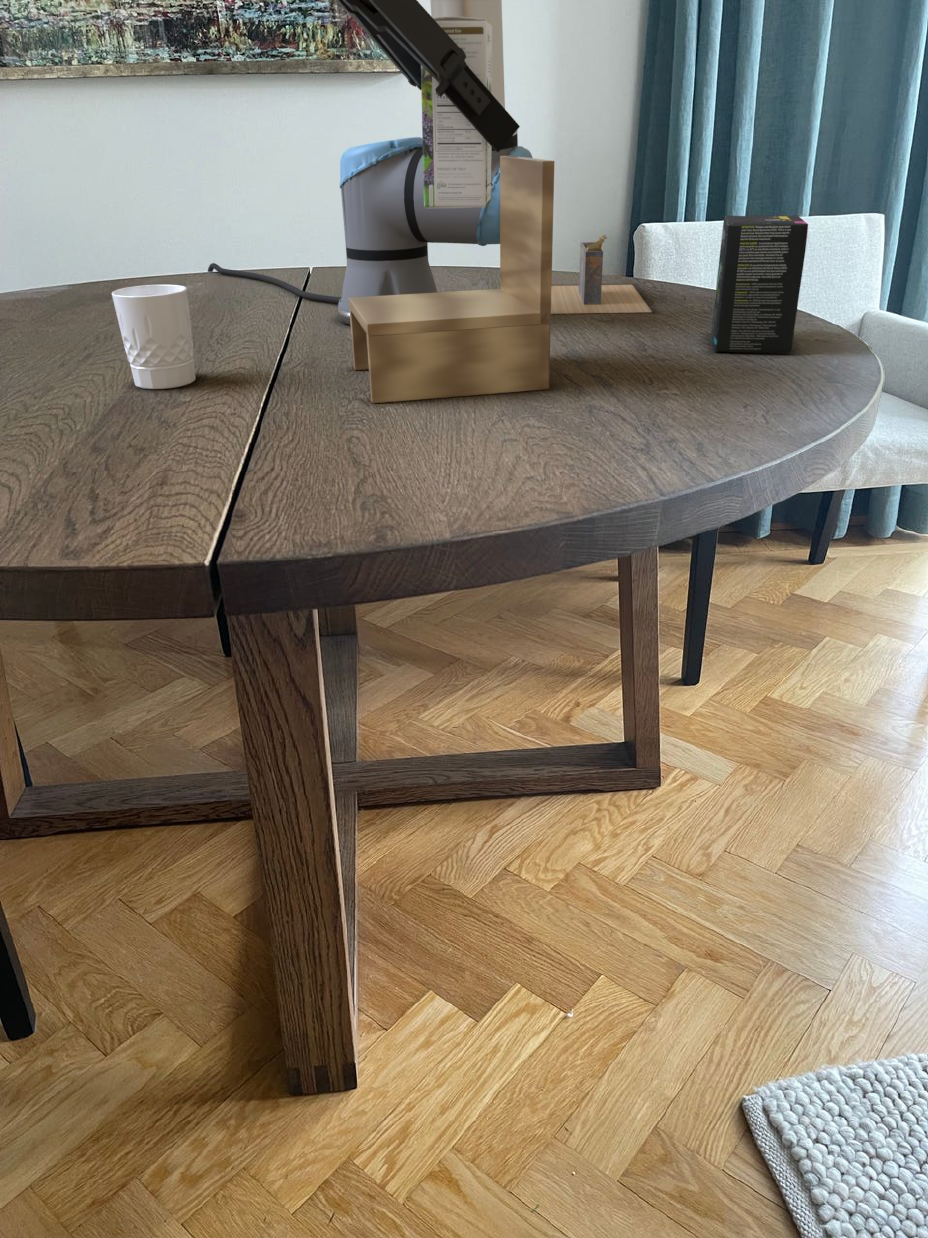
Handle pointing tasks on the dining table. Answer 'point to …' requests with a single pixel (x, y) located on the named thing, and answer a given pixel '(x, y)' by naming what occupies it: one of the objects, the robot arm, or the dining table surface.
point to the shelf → (471, 312)
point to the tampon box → (758, 283)
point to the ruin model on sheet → (595, 289)
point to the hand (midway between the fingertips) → (496, 137)
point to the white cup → (156, 334)
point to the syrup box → (457, 127)
